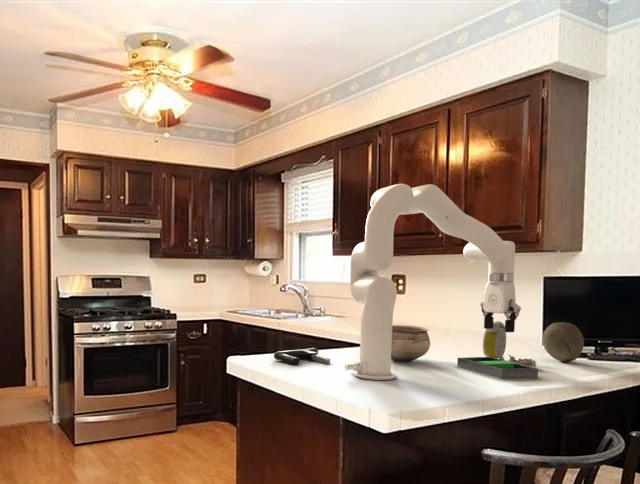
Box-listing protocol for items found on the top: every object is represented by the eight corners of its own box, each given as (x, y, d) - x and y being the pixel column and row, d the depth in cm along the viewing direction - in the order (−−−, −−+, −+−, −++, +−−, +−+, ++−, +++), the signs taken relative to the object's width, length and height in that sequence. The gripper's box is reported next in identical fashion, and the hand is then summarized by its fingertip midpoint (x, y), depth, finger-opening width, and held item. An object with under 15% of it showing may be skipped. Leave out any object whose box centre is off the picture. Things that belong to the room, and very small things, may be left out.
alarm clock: (491, 358, 208) (493, 320, 207) (510, 361, 204) (512, 321, 203) (481, 362, 199) (483, 322, 198) (500, 365, 195) (503, 323, 194)
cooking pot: (400, 354, 215) (401, 323, 214) (443, 361, 200) (445, 328, 199) (360, 359, 199) (361, 326, 198) (405, 368, 184) (406, 332, 183)
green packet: (488, 373, 175) (488, 363, 175) (477, 370, 180) (478, 361, 180) (513, 372, 178) (514, 363, 178) (502, 369, 183) (503, 360, 182)
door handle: (342, 355, 192) (311, 346, 205) (300, 360, 180) (270, 350, 193) (341, 364, 192) (310, 355, 205) (299, 370, 181) (269, 359, 194)
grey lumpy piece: (506, 365, 195) (507, 354, 195) (529, 366, 193) (530, 355, 193) (513, 370, 185) (514, 358, 184) (537, 372, 183) (538, 360, 182)
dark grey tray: (501, 380, 167) (502, 369, 167) (457, 367, 188) (457, 357, 188) (537, 379, 170) (538, 368, 170) (490, 366, 191) (490, 356, 191)
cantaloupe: (589, 362, 205) (592, 323, 204) (572, 365, 197) (575, 325, 196) (551, 357, 216) (553, 320, 215) (533, 359, 208) (535, 321, 207)
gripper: (473, 277, 184) (471, 327, 186) (510, 279, 168) (508, 333, 169) (492, 278, 186) (490, 327, 187) (530, 279, 170) (528, 333, 171)
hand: (498, 330), depth 178 cm, fingers open, 9 cm apart
